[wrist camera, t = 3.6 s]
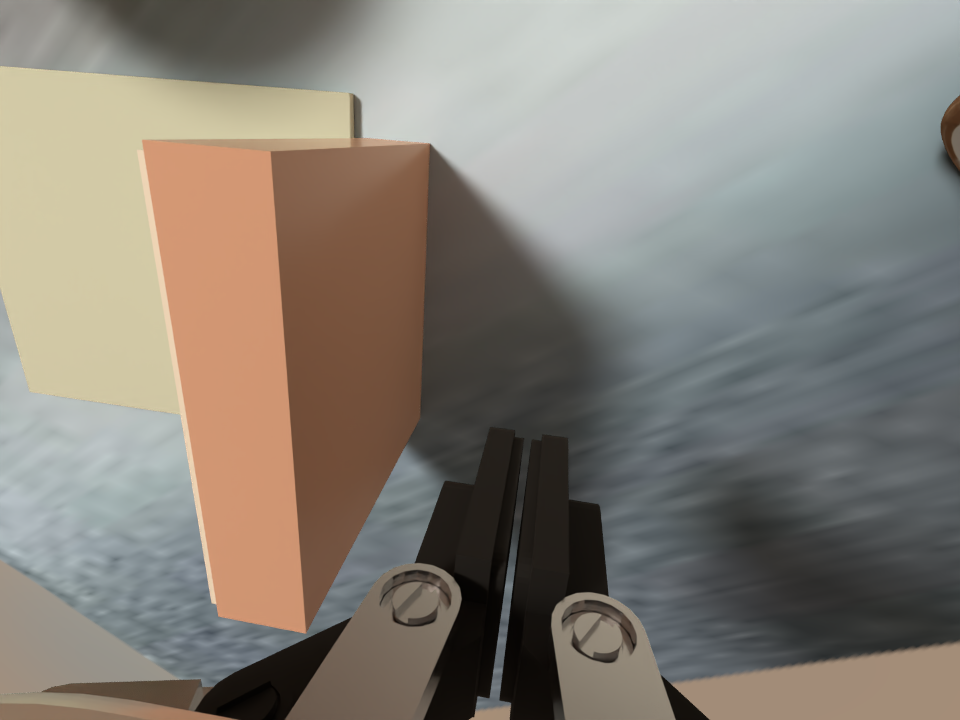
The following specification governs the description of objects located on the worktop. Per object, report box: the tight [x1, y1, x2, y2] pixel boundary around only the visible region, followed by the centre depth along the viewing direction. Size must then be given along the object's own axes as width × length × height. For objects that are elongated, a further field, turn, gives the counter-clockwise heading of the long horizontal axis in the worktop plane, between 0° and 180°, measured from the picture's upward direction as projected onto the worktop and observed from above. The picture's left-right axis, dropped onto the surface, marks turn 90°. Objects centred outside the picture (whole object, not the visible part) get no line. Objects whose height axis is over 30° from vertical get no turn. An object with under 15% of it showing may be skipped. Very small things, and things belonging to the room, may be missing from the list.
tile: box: [137, 138, 430, 633], centre depth 18 cm, size 3×12×12 cm, turn 175°
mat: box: [0, 66, 354, 415], centre depth 24 cm, size 18×15×1 cm
